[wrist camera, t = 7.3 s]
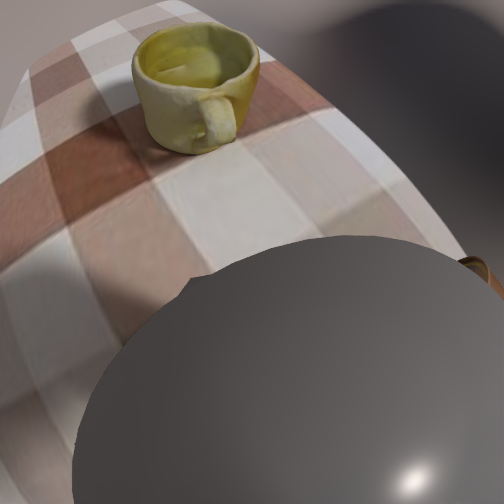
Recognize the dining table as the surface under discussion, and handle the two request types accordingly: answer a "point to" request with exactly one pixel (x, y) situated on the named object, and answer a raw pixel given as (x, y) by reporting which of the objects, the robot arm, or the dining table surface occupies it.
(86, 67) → the dining table surface
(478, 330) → the grey domed canister
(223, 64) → the mug
